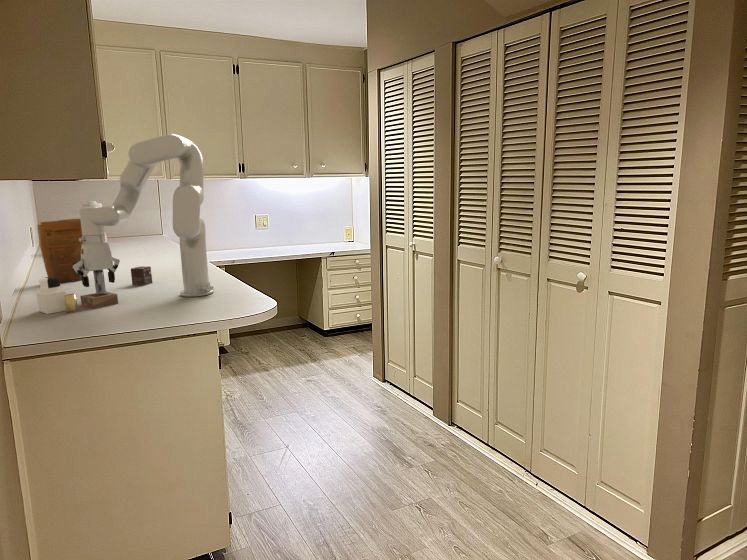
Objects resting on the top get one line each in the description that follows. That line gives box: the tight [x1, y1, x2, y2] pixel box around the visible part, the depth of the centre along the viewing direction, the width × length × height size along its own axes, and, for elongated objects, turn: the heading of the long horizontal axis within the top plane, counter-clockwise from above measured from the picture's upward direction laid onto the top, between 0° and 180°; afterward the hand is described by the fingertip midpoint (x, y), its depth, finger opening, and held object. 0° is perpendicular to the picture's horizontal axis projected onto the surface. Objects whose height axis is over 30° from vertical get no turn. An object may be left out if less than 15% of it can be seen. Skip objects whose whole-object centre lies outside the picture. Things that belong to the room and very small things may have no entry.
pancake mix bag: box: [36, 218, 83, 284], centre depth 245 cm, size 7×19×28 cm, turn 127°
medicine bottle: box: [36, 276, 67, 315], centre depth 191 cm, size 7×7×12 cm
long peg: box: [92, 269, 107, 293], centre depth 208 cm, size 3×3×12 cm
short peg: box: [64, 293, 79, 314], centre depth 189 cm, size 3×3×6 cm
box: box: [130, 265, 153, 286], centre depth 236 cm, size 6×6×7 cm
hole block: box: [80, 291, 119, 309], centre depth 200 cm, size 9×9×4 cm
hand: (99, 284), depth 208 cm, fingers open, 9 cm apart
